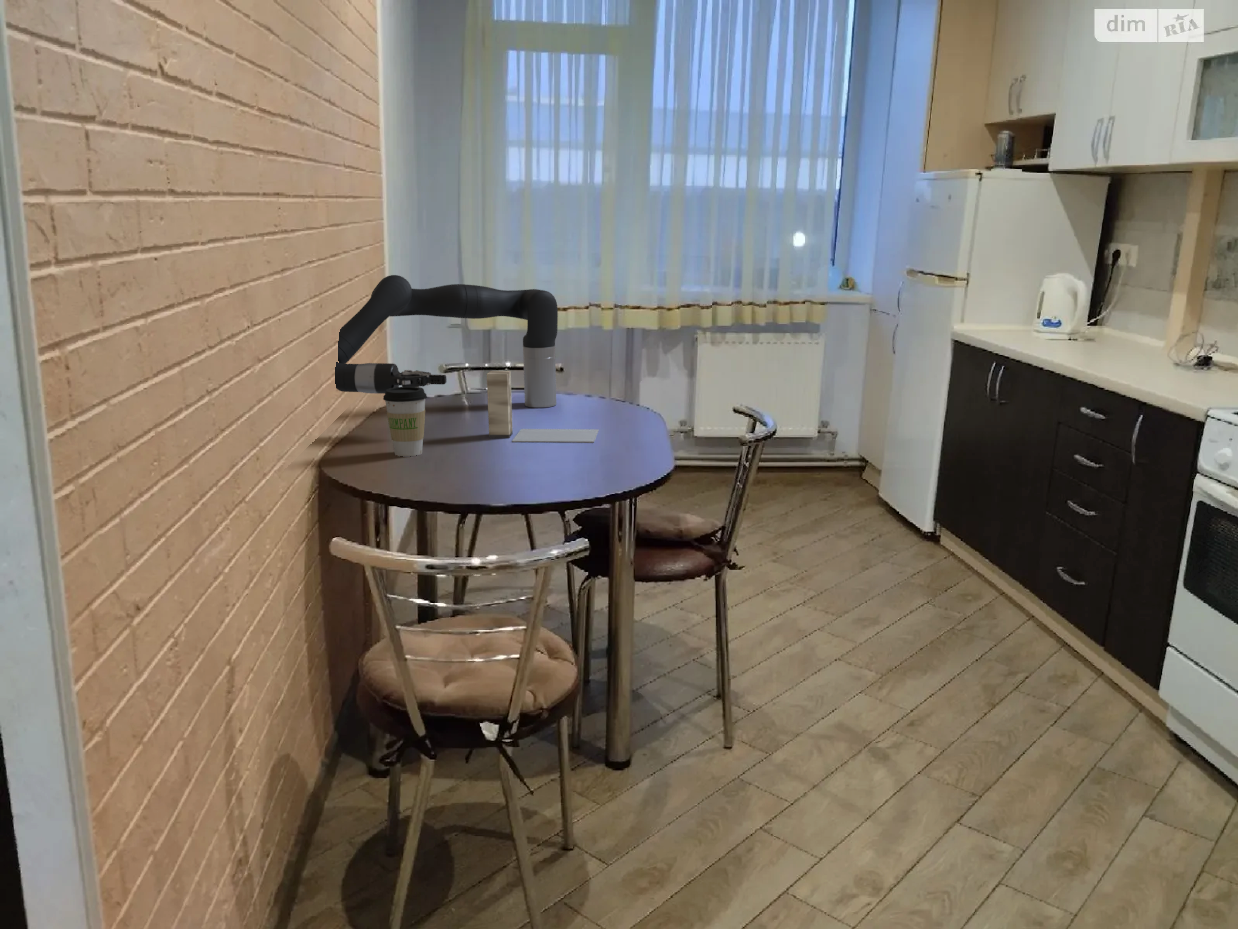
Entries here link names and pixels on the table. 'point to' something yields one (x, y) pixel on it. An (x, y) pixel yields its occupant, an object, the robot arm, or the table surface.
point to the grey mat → (556, 435)
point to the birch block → (499, 404)
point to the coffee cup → (406, 419)
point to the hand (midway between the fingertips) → (445, 379)
